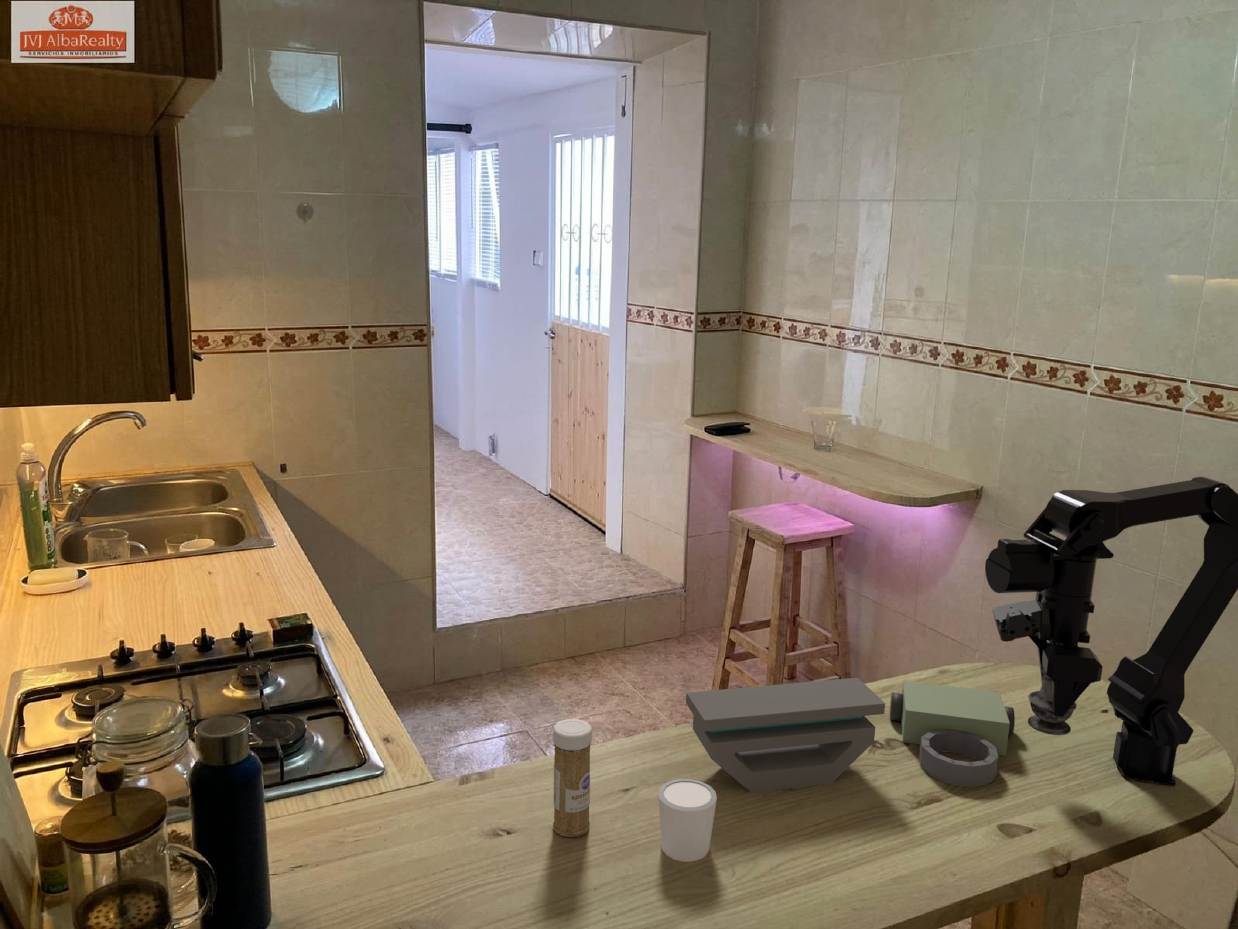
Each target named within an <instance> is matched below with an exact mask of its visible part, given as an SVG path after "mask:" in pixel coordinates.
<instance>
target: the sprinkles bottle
mask: <svg viewBox="0 0 1238 929" xmlns="http://www.w3.org/2000/svg"><path fill="white" fill-rule="evenodd" d="M592 732H593V728H592V726H591V724H589V722H587V721H585V720H582V719H577V718H568V719H563V720H560V721H558V722H556V723H555V724H554V726H553V732H552V733H553V734H552V737H553V739H552V742H553V746H554V759H553V760H554V761H553V762H554V763H553V806H554V807H553V810H554V815H553V823H552V825H553V826H552V827H553V830H554V832H555V833H557V834H558V835H560V836H562V837H566V838H575V837H580V836H582V835H584V834H586V833H587V832H589V830H590V825H591V822H590V804H591V773H590V771H591V770H590V769H591V744H592V739H593V733H592Z"/></svg>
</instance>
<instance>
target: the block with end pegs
mask: <svg viewBox="0 0 1238 929" xmlns="http://www.w3.org/2000/svg"><path fill="white" fill-rule="evenodd" d="M901 686H902V687H901V693H899V692H898V693H897V692H891V695H890V702H889V703H890V704H889V705H890V706H889V720H891V721H892V720H893V721H899V722H900V724H901V726H900V727H901V738H902V739H903V740H902V742H903V743H909V744H916V745H919V755H918V757H919V765H920V766H919V767H921V769H923V770H924V771H925V772H926V773H927V774H928V775H929V776H931V777H933V778H935V779H937V780H939V781H942V782H943V783H944V782H945V783H947V784H949V785H955V786H961V787H969V788H973V787H979V786H985V785H989V784H990V783H991V782H992V781H993V780H994V779H995V778H997V770H998V763H999V756H1003V757H1005V756H1007V748H1008V740H1009V736H1013V734H1014V731H1015V722H1016V721H1015V719H1016V717H1015V715H1016V714H1015V709H1014V707H1012V706H1005V704H1004V700H1003V697H1002V694H1001V692H1000V691H991V690H984V689H975V688H967V687H959V686H951V685H943V684H934V683H926V682H918V681H911V680H902V684H901ZM945 752H947V753H948V752H949V753H955V754H962V755H965V756H967V757H970V758H973V759H975V760H976V761H972V762H971V761H963V760H955V759H952V758H950V757H947V756H944V755H942V754H940V753H945Z"/></svg>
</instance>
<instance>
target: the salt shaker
mask: <svg viewBox="0 0 1238 929" xmlns="http://www.w3.org/2000/svg"><path fill="white" fill-rule="evenodd" d="M1041 674H1042V675H1043V680H1042V681H1041V687H1040V689H1039V690H1035V691H1032V692H1031V693H1029V694H1028V695H1027V697H1028V701H1030V702H1029V704H1030V708H1031V711H1032V712H1033V714H1034V715H1031V716H1029V717H1028V719H1027V724H1028V725H1029V726H1030V727H1031V728H1032V729H1034V730H1035V731H1037V732H1040V733H1043V734H1047V735H1052V736H1065V735H1067V734H1070V733H1071V729H1072V727H1071V726H1070V724H1069V723H1068V722H1066V721H1068V720H1069V719H1071V716H1072V715H1073V713H1074V711H1075V710H1076V709H1077V707H1078V705H1077V703H1076V702H1075V703H1074V704H1073V705H1072V706H1071V708H1070V709H1069V710H1068V711H1067V713H1066V714H1065V715H1064V716H1063V717H1060V716H1055V715H1054V708H1053V691H1052V680H1051V679H1050V678H1049V677H1047V676H1046V675H1045V673H1044V671H1043V670H1041V672H1040V675H1041Z"/></svg>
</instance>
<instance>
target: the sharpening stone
mask: <svg viewBox="0 0 1238 929" xmlns="http://www.w3.org/2000/svg"><path fill="white" fill-rule="evenodd" d="M685 695H686V696H685V697H686V698H685V704H686V705H687V707H688V709H689V710H690V712H691V714H692V715H693V718H692V730H693V732H694V734H695V735H696V736H697V739H698V740H699V741H700V743H701V745H702V746H703V748H704V750H705V751H706V753H707V754H708V757H709V758H710V759H711V760H712V761H713V762H714V763H716V764H717V765H718V766H719V767H720V768H721V769H723V770H724V772H726V773H728V775H730V776H731V777H732V778H733V779H735V780H736V781H737V782H738V783H739V784H740V785H742V786H743V787H744V788H745V789H746V790H747V791H749V792H750V793H753V792H762V791H773V790H780V789H789V788H797V787H798V788H799V787H807V786H816V785H825V784H826V785H827V784H833V783H834V782H835V781H836V779H838V778H839V777H840V775H842V774H843V773H844V772H845V771H846V770H847V769H848V768H849V767H850V766H851V765H852V764H853V763H854V762H855V761H856V760H857V759H858V758H859V757H861V755H863V754H864V752H865V751H866V750H867V749H869V748H870V747H871V746H872V745H873V744H874V743H875V736H876V726H875V725H874V724H873V723H872V722H871V721H870V720H869V719H868V718H867V717H869V716H879V715H885V712H886V711H885V709H886V703H885V702H884V700H882V699H881V698H880V697H879V696H878V695H877V694H876V693H875V692H874V691H873V690H872V689H871V688H870V687H868V686H867V685H866V684H865V683H864V682H863V681H862V680H861V679H860V678H859V677H851V678H839V679H837V678H836V679H827V680H816V681H805V682H804V681H803V682H793V683H783V684H782V683H781V684H780V683H779V684H770V685H759V686H749V687H748V686H747V687H736V688H724V689H712V690H710V689H709V690H700V691H688V692H686V694H685Z"/></svg>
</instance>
